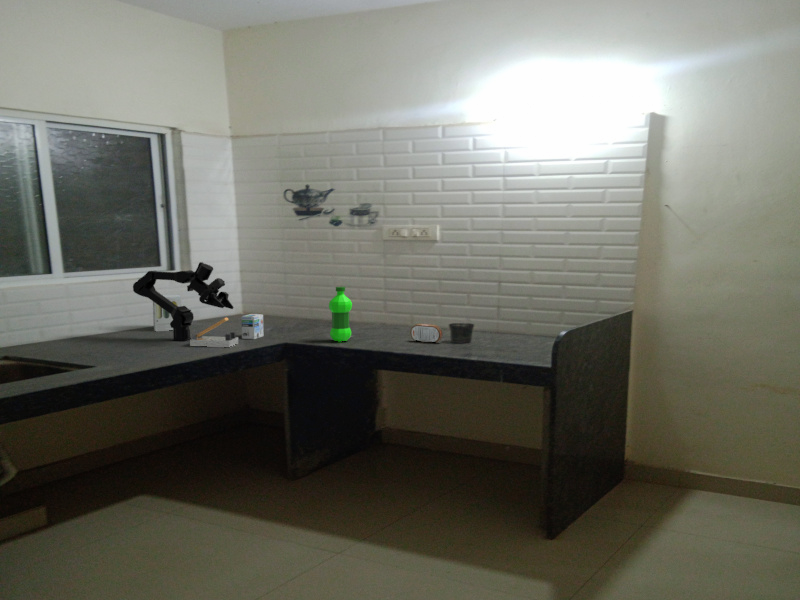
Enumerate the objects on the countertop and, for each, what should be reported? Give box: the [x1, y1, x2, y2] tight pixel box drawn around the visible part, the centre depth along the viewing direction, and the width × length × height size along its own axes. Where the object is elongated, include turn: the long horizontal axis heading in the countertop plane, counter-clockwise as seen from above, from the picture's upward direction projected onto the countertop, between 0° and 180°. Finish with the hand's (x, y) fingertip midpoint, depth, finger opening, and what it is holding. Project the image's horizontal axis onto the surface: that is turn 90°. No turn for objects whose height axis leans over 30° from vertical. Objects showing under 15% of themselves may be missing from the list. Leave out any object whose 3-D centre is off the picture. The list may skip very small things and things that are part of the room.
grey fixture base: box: [189, 331, 239, 348], centre depth 280 cm, size 18×10×6 cm, turn 82°
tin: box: [409, 323, 443, 343], centre depth 289 cm, size 15×3×8 cm, turn 65°
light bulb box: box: [241, 313, 264, 340], centre depth 301 cm, size 11×7×11 cm, turn 168°
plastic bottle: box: [328, 286, 353, 343], centre depth 290 cm, size 10×10×25 cm
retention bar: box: [196, 317, 229, 338], centre depth 280 cm, size 16×3×1 cm, turn 84°
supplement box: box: [152, 293, 182, 332], centre depth 327 cm, size 13×13×18 cm
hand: (228, 307), depth 285 cm, fingers open, 9 cm apart
